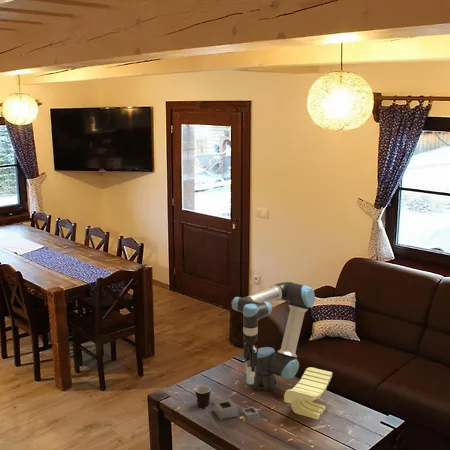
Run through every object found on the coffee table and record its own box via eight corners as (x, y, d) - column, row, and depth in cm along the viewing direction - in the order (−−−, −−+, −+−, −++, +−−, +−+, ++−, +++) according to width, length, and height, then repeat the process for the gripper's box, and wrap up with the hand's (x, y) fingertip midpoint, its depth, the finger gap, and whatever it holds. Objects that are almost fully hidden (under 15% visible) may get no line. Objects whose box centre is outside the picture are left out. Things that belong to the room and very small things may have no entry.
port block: (230, 408, 314) (230, 398, 313) (237, 417, 305) (237, 407, 303) (213, 412, 310) (213, 402, 309) (220, 421, 301) (220, 411, 300)
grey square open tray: (253, 410, 312) (253, 405, 311) (260, 418, 304) (260, 412, 304) (240, 413, 309) (240, 408, 308) (246, 421, 301) (246, 416, 301)
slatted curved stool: (304, 394, 329) (305, 365, 325) (331, 401, 321) (332, 372, 317) (283, 419, 303) (284, 388, 299) (312, 427, 295) (312, 396, 292)
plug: (252, 380, 305) (252, 359, 302) (255, 383, 301) (255, 362, 299) (245, 381, 303) (245, 360, 301) (248, 384, 300) (248, 363, 297)
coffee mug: (208, 410, 312) (208, 394, 310) (193, 409, 314) (193, 392, 312) (213, 399, 323) (213, 383, 321) (198, 398, 325) (198, 382, 323)
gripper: (237, 328, 303) (237, 368, 308) (250, 340, 287) (250, 383, 292) (250, 326, 305) (250, 366, 310) (264, 338, 290) (263, 380, 295)
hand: (250, 374), depth 301 cm, fingers closed on plug, 4 cm apart
